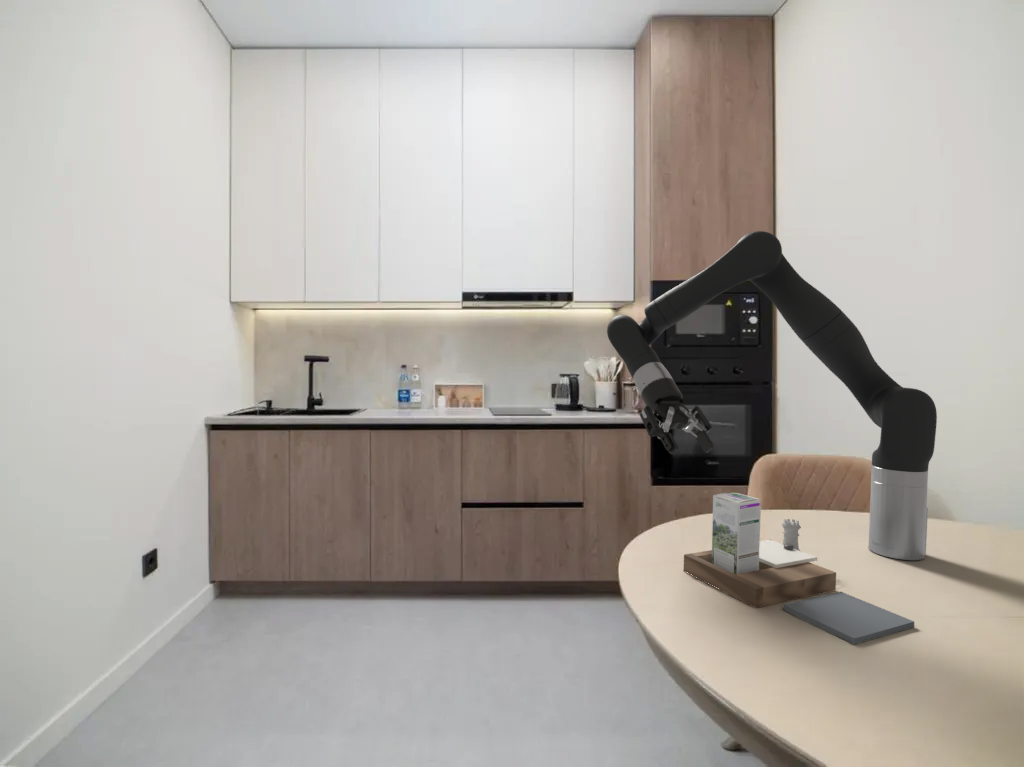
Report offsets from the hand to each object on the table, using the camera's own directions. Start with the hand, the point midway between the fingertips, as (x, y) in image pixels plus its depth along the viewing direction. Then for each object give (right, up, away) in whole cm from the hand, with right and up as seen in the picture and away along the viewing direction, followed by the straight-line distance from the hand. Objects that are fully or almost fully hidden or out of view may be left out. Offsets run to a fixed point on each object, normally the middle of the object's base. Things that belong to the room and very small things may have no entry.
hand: (692, 450), depth 106 cm
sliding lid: (+12, -18, -7) cm, 23 cm away
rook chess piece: (+18, -21, -2) cm, 28 cm away
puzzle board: (+7, -21, -11) cm, 25 cm away
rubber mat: (+15, -22, -25) cm, 36 cm away
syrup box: (+4, -21, -11) cm, 24 cm away
